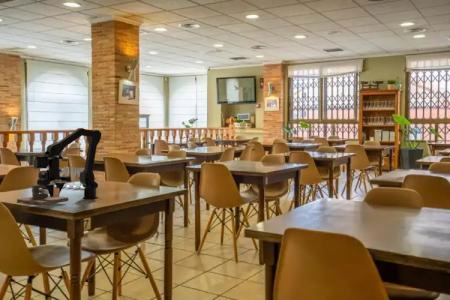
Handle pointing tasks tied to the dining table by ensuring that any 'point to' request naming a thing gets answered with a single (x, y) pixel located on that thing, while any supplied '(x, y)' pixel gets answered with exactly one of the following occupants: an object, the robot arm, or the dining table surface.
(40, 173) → the robot arm
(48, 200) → the eye board
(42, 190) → the pin
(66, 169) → the goblet set
